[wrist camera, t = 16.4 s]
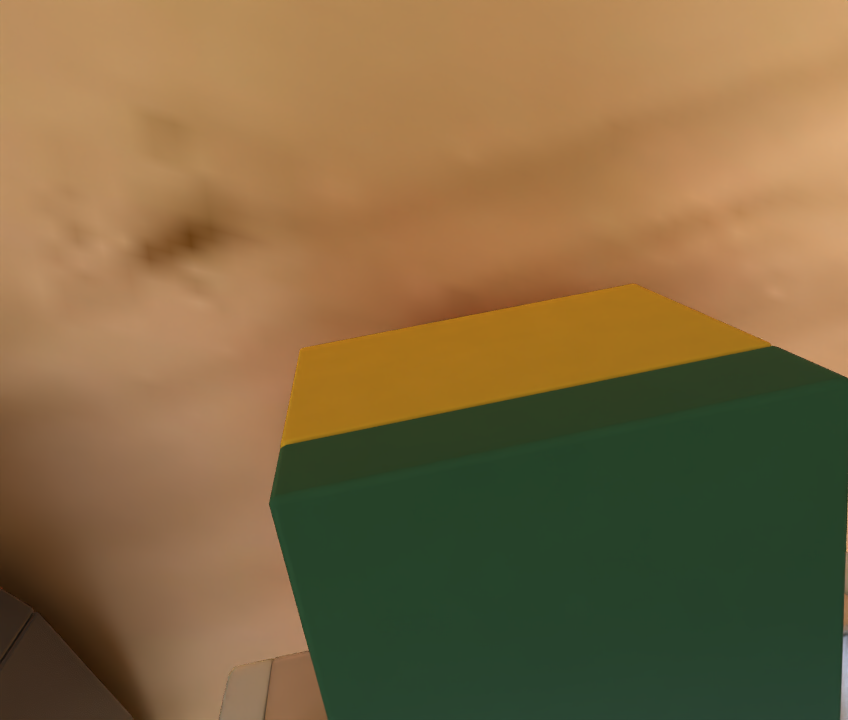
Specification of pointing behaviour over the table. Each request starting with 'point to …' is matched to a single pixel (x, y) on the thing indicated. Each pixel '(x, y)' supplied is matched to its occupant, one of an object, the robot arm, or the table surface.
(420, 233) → the table surface
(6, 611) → the bowl
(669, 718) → the sponge
